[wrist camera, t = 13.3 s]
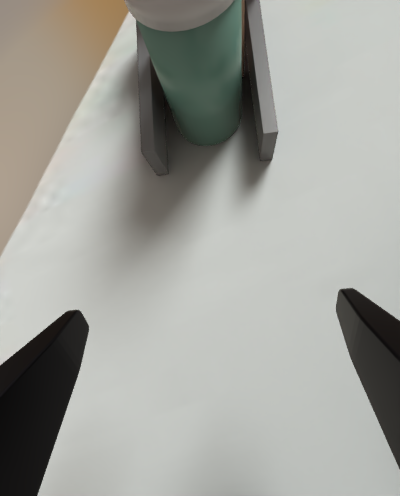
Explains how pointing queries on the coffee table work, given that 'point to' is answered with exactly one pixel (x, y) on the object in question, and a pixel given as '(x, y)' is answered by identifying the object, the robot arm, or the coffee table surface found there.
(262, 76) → the pusher lane
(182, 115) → the jar
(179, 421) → the coffee table surface
